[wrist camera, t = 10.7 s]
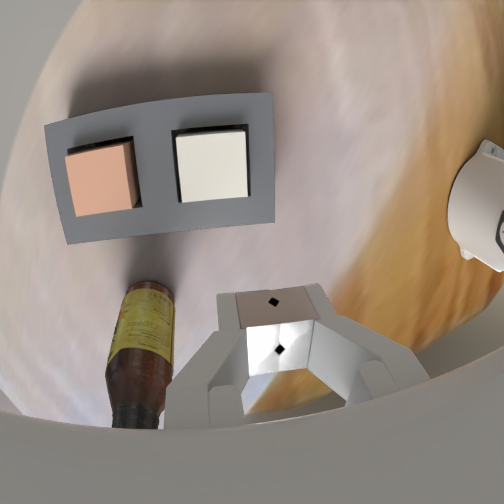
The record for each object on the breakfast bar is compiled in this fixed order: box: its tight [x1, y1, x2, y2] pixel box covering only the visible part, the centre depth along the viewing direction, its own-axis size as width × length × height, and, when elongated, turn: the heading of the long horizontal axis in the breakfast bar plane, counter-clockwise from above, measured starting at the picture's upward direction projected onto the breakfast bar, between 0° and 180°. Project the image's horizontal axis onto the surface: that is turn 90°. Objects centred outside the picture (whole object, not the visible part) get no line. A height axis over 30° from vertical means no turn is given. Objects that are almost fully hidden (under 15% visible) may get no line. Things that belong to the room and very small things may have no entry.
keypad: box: [44, 93, 275, 245], centre depth 25 cm, size 19×11×5 cm, turn 92°
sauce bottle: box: [105, 281, 175, 429], centre depth 25 cm, size 7×6×20 cm
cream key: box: [176, 128, 248, 203], centre depth 23 cm, size 5×5×4 cm
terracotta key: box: [65, 140, 141, 217], centre depth 22 cm, size 5×5×4 cm
